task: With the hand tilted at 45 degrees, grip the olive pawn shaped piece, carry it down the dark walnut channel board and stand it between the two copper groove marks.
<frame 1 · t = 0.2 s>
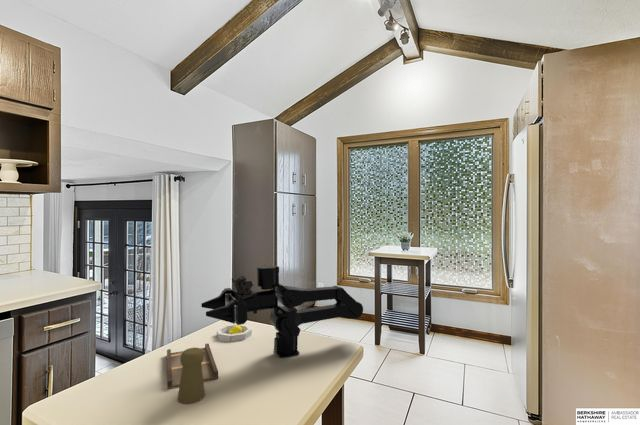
hand: (203, 309, 88), 17 cm above the table, tool horizontal, fingers open, 9 cm apart
white dish rim: (234, 335, 114), on the table
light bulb: (233, 336, 113), resting in white dish rim
olive pawn shaped piece: (191, 397, 74), on the table
channel board: (190, 366, 89), on the table
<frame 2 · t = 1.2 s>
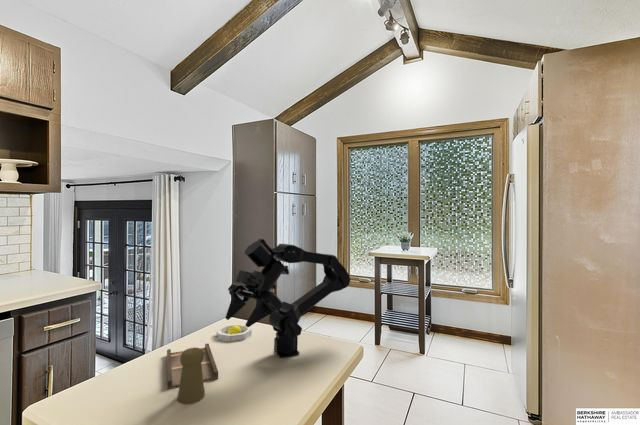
hand: (236, 322, 86), 14 cm above the table, tool tilted 45°, fingers open, 9 cm apart
nothing on the table moved.
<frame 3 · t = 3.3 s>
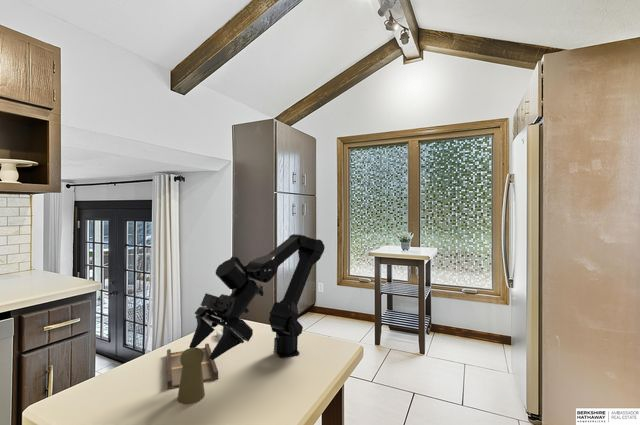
hand: (200, 353, 76), 9 cm above the table, tool tilted 45°, fingers open, 9 cm apart
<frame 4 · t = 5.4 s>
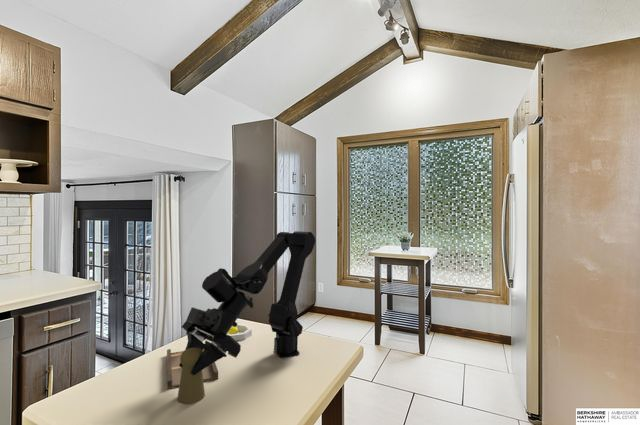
hand: (186, 370, 73), 7 cm above the table, tool tilted 45°, fingers closed on olive pawn shaped piece, 5 cm apart
olive pawn shaped piece: (191, 397, 74), on the table, touching gripper
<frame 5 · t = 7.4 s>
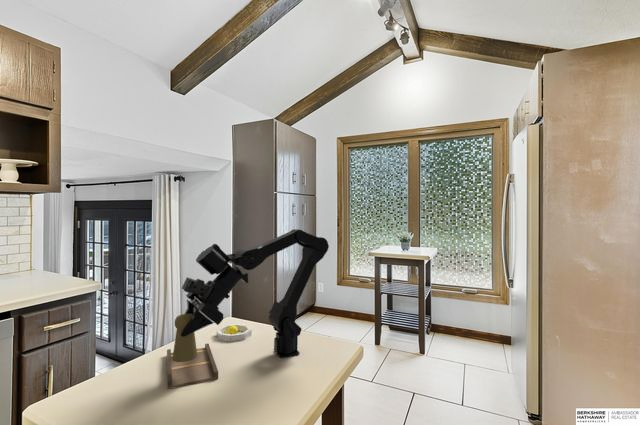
hand: (179, 332, 82), 12 cm above the table, tool tilted 45°, fingers closed on olive pawn shaped piece, 5 cm apart
olive pawn shaped piece: (184, 357, 82), point 5 cm above the table, touching gripper
when the fingers open (8 cm above the table, at t = 9.7 s): olive pawn shaped piece drops 1 cm, resting on channel board.
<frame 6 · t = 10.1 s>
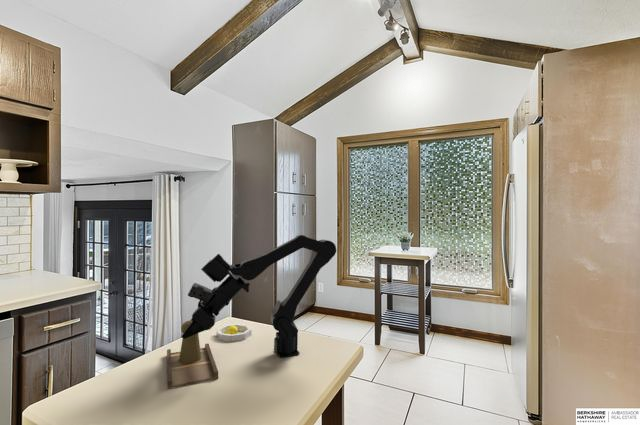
hand: (185, 331, 92), 9 cm above the table, tool tilted 45°, fingers open, 9 cm apart
olive pawn shaped piece: (190, 359, 92), resting on channel board
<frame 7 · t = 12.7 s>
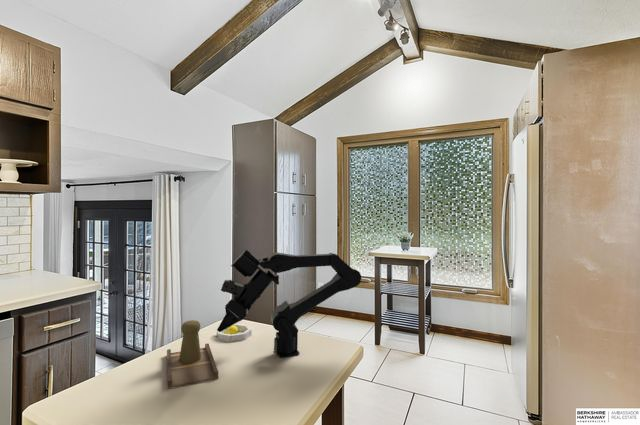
hand: (221, 327, 94), 9 cm above the table, tool tilted 40°, fingers open, 9 cm apart
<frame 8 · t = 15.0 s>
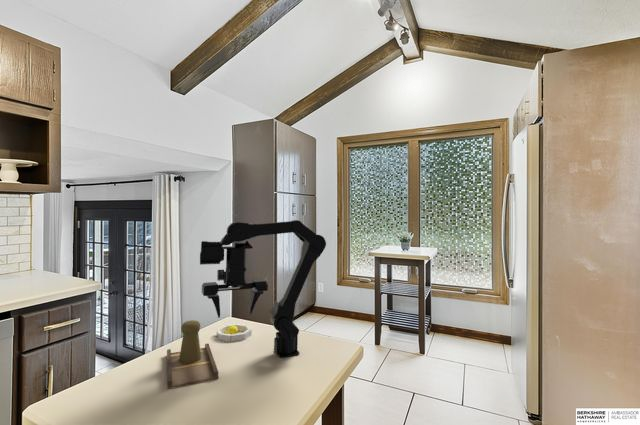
hand: (234, 315, 94), 13 cm above the table, tool pointing down, fingers open, 9 cm apart
at the end: olive pawn shaped piece 0.1 cm from the target spot, resting on channel board; olive pawn shaped piece tilted 0°; the gripper is holding nothing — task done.
